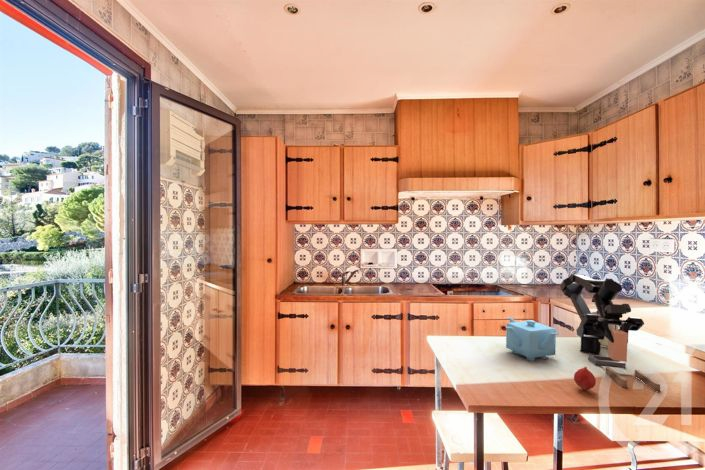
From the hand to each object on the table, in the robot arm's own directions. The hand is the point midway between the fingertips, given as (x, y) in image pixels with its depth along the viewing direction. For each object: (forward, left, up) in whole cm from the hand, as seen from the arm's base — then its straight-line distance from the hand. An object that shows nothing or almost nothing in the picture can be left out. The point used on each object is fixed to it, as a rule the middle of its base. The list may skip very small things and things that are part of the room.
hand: (619, 342), depth 117 cm
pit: (-4, +8, -11) cm, 14 cm away
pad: (-1, +2, -11) cm, 12 cm away
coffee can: (-4, +36, -12) cm, 38 cm away
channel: (+3, -7, -11) cm, 13 cm away
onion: (-9, -25, -12) cm, 29 cm away
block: (-1, +1, -7) cm, 7 cm away
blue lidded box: (-29, -4, -12) cm, 32 cm away
